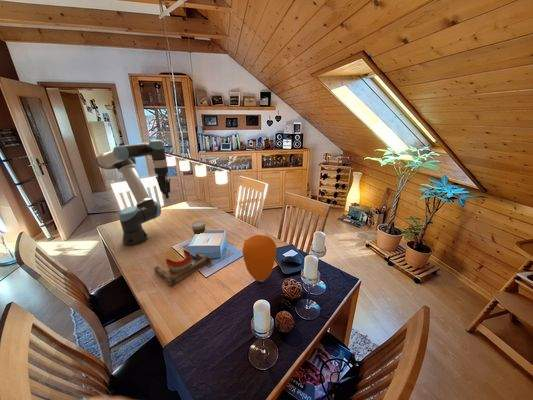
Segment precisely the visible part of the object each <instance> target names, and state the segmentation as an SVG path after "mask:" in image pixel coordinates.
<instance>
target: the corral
mask: <svg viewBox="0 0 533 400" xmlns="http://www.w3.org/2000/svg"><path fill="white" fill-rule="evenodd" d="M195 259H196V260H198V261H196V262H195V263H193V264H191V266H190V267H188V268H186V269H185V270H183V271H181V272H180V273H178V274H174V275H173V276H172V275H171V274H169V273H168V272H167V271H165V270H164V269H163V268H162V267H160V266H159V265H156V266H155V267H153V270H154V274H156V275H157V276H158V277H159V278H161V279H162V280H163V281H164V282H166V283H167V285H168V286H167V287H169V288H173V287H174V286H176V285H177V284H180V282H182V281H184V280H186V279H187V278H188V277H190V276H192V275H193V274H194V273H197V272H198V271H200V270H201V269H203V268H204V267H206V266H207V265H208V264H210V263H212V261H211V260H212V259H211V256H209V255H205V254H204V253H202V254H198V253H196V258H195ZM199 269H200V270H199Z"/></svg>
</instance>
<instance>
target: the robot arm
mask: <svg viewBox="0 0 533 400" xmlns="http://www.w3.org/2000/svg"><path fill="white" fill-rule="evenodd" d="M147 156H151V158H152V159H151V161H152V164H153V170H154V173H155V174H156V175H157V176H155V179H156V181H157V185H158V187H159V191H160V192H161V193H162V195H163V200H164V204H168V203H170V202H171V201H170V195H169V194H170V193H171V178H168V175H167V173H169V169H168V161H167V157H166V152H165V145H164V141H163V140H162V139H151V140H149V141H148V142H147V141H145V142H144V141H143V142H140V143H133V144H125V145H122V144H121V145H117V146H114V147H113V148H112V150H111V151H108V152H102V153H99V154H98V155H96V156H95V158H94V159H95V160H94V161H95V164H96V166H97V167H98V168H100V169H103V170H115V169H116V170H117V172H119V173H121V174H122V176H123V178H124V180H125V182H126V183H127V185H128V188H129V190H130V191H131V193H132V195H133V197H134V199H135V200H136V206H135V205H134V206H133V205H132V206H127V207H125V208H123V209H121V210H120V211H119V213H118V219H119V222H120V225H121V229H122V240H121V241H122V243H123V245H124V246H127V247H128V246H137V245H140V244H142V243H143V242H145V241H146V240H147V239H148V234H147V232H146V231H145V229H144V228H143V225H142V224H144V223H146V222H149V221H152V220H155V219H157V218H159V217H160V216H161V214H162V207H161V205H160V203H159V202H158V201H157V200H156V201H155V200H154V199H153V198H151V197H150V196H149V194H148V192H147V189H146V188H145V186H144V184H143V183H142V181H141V178H140V177H139V174H138V172H137V171H136V169H135V168H136V164H137V159H136V158H140V157H141V158H142V157H147Z"/></svg>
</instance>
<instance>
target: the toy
mask: <svg viewBox="0 0 533 400" xmlns="http://www.w3.org/2000/svg"><path fill="white" fill-rule="evenodd" d="M182 252H183V255H184V259H183V260H181V261H173V260H171V259H168V258H166V259H165V262H166V266H167V269H168V272H169V273H172V274H173V275H176V274H178V273H180V272H181V271H183V270H185V269H186V268H188V267H190V266H191V265H192V261H193V260H192V258H193V257H192V256H191V255H190V253H189V250H188V251H187V250H186V249H183V250H182Z"/></svg>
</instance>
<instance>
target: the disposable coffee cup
mask: <svg viewBox="0 0 533 400" xmlns="http://www.w3.org/2000/svg"><path fill="white" fill-rule="evenodd" d="M190 227H191V229H192V232H193V235H195V234H200V233H203V232H204V231H205V232H206V222H205V221H203V220H197V221H194V222H193V223H191V225H190Z"/></svg>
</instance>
